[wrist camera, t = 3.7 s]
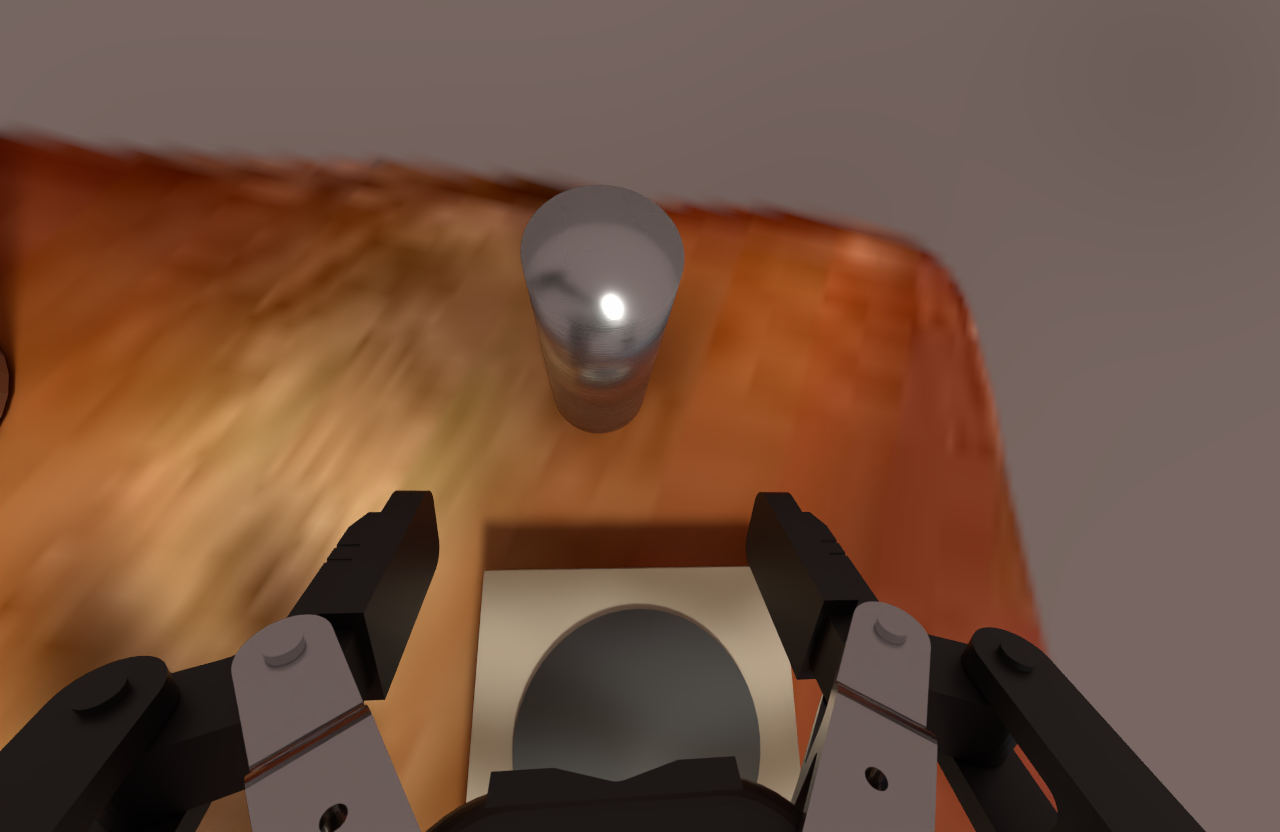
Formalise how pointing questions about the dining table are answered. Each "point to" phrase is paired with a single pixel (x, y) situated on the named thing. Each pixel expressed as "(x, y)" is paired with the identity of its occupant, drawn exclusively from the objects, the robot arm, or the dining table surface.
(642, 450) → the dining table surface
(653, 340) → the axle
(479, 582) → the dining table surface
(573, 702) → the rest block
